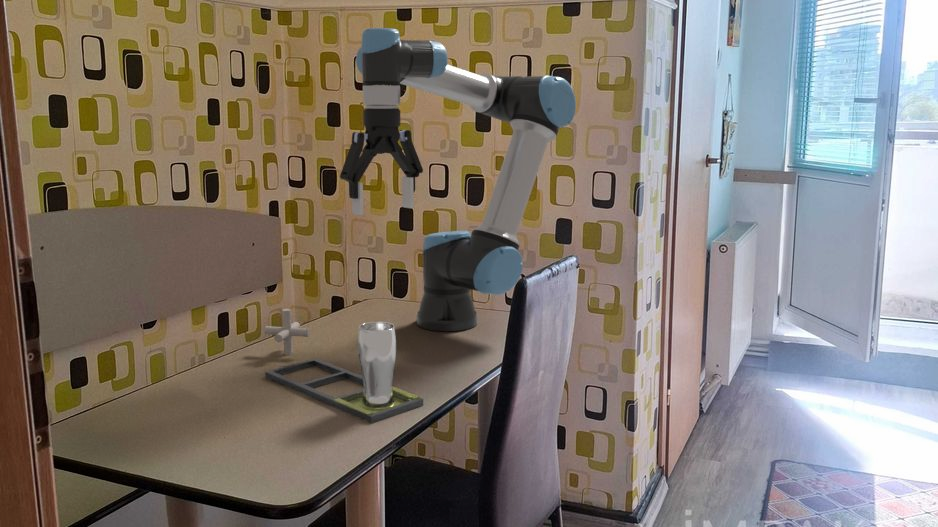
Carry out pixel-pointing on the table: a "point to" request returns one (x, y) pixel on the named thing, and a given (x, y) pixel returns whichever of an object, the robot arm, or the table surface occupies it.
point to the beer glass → (377, 363)
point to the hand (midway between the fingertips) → (383, 211)
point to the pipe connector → (287, 331)
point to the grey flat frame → (346, 402)
